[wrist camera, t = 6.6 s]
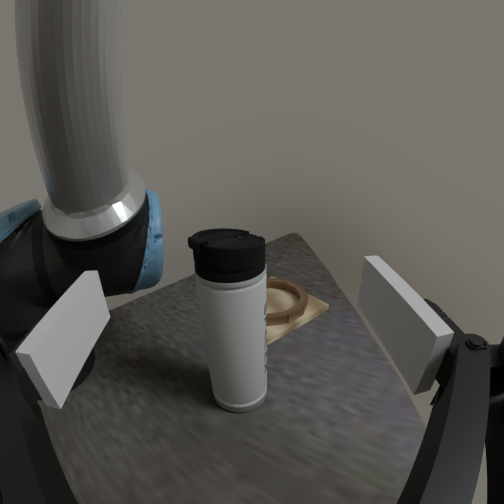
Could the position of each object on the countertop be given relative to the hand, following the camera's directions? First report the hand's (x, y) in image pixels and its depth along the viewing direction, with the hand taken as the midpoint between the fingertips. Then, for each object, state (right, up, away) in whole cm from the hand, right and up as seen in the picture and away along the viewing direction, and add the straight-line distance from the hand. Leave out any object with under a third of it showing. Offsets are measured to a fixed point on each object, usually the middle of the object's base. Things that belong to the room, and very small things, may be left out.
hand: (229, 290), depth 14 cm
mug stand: (+4, -8, +36) cm, 37 cm away
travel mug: (-1, -15, +19) cm, 24 cm away
